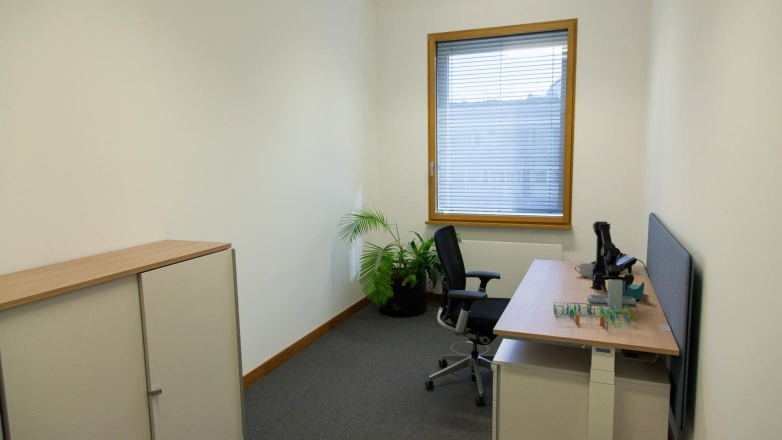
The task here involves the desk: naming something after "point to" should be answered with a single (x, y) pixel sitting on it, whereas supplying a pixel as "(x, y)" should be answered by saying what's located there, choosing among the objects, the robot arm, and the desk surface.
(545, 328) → the desk surface
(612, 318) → the house model
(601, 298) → the door track
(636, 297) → the teal curved piece
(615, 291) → the door panel
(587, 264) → the teacup
